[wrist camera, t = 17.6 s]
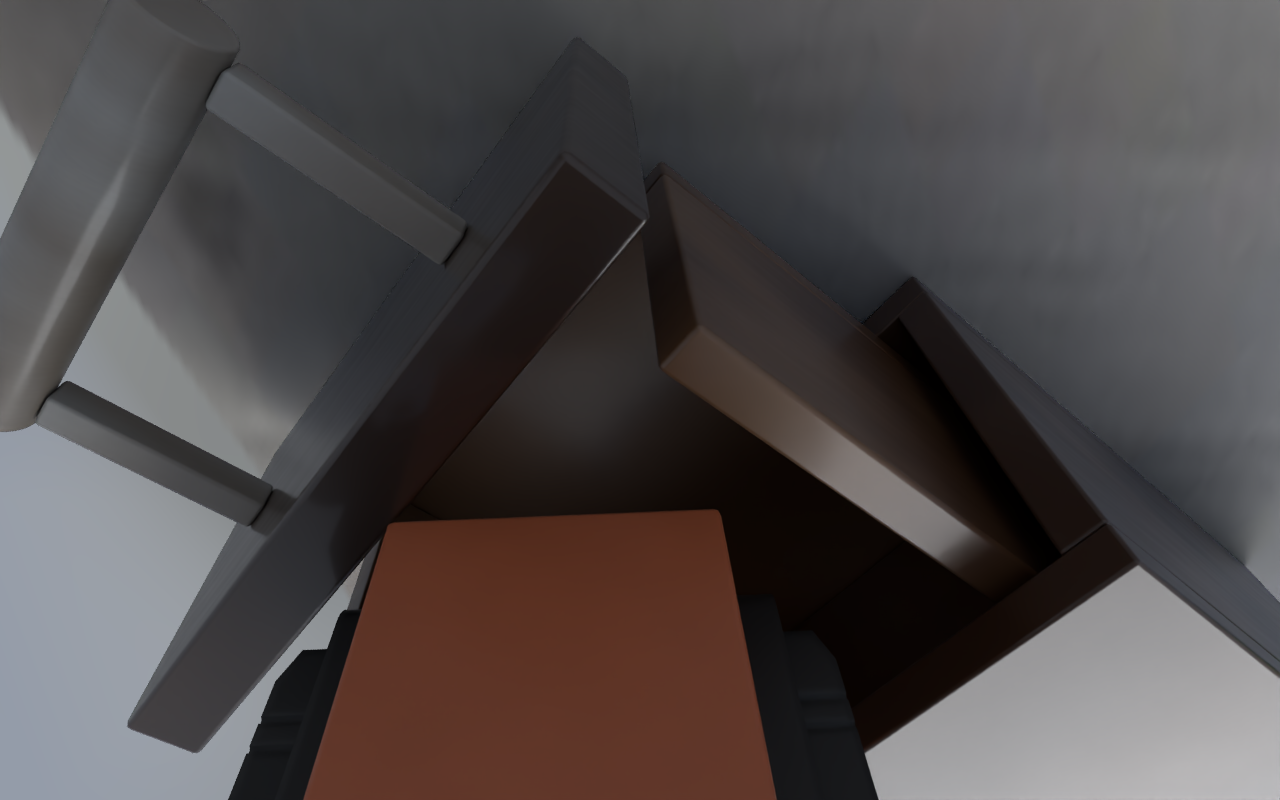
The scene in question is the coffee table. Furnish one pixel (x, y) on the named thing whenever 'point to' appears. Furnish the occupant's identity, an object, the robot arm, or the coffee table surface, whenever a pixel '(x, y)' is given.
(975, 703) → the cabinet
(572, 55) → the drawer
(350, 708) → the block
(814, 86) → the coffee table surface
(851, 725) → the robot arm
